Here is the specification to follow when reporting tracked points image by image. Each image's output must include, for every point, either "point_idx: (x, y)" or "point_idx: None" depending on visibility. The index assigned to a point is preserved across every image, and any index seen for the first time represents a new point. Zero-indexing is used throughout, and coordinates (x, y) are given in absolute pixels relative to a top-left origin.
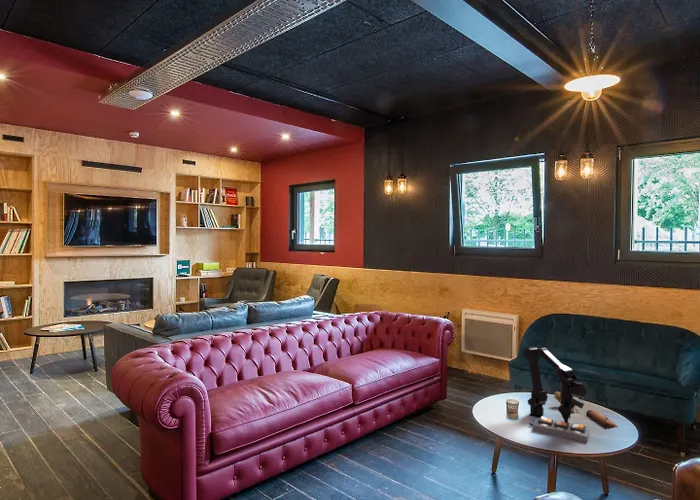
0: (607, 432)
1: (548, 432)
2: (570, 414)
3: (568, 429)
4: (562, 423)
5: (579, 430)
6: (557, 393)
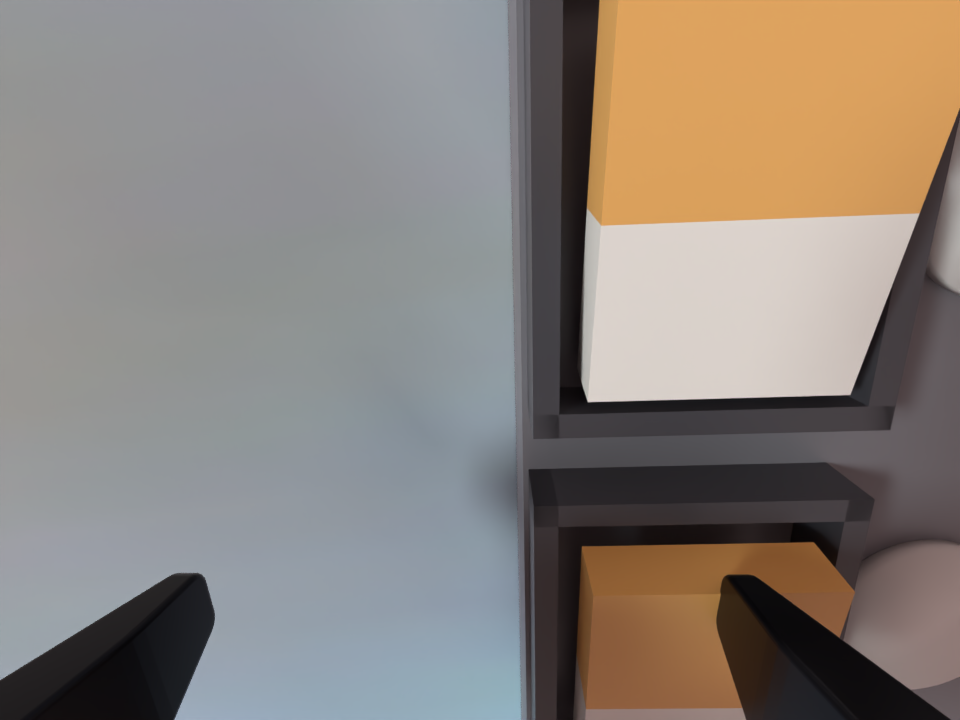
0: None
1: None
2: (72, 688)
3: (851, 446)
4: None
5: None
6: None
